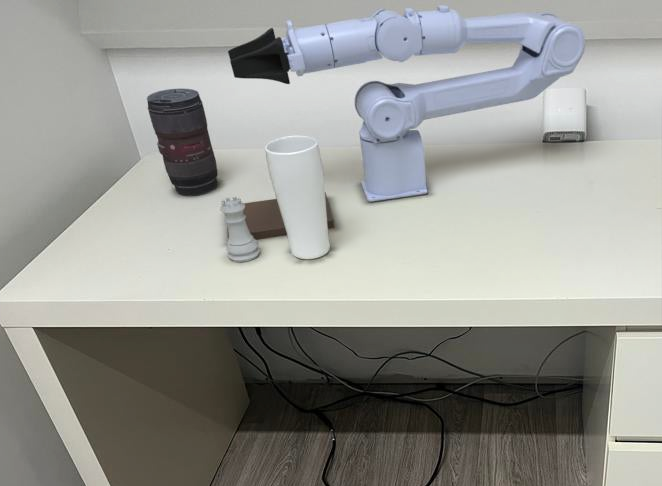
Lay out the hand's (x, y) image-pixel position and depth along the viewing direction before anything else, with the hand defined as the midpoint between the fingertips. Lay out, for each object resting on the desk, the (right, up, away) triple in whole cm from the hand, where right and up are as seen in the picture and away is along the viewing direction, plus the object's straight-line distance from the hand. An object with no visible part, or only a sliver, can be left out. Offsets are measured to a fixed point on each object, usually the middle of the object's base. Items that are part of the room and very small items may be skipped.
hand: (230, 63), depth 102 cm
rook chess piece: (+2, -26, +1) cm, 26 cm away
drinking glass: (+11, -26, +1) cm, 28 cm away
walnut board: (+4, -19, +10) cm, 22 cm away
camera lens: (-12, -11, +21) cm, 27 cm away
